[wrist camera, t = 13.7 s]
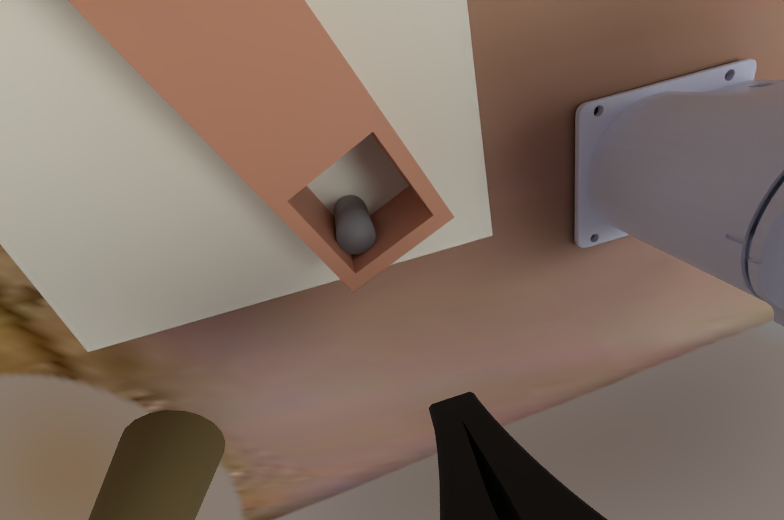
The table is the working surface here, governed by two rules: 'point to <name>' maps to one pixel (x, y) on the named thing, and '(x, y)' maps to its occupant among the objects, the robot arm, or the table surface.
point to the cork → (160, 468)
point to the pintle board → (210, 169)
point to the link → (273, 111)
